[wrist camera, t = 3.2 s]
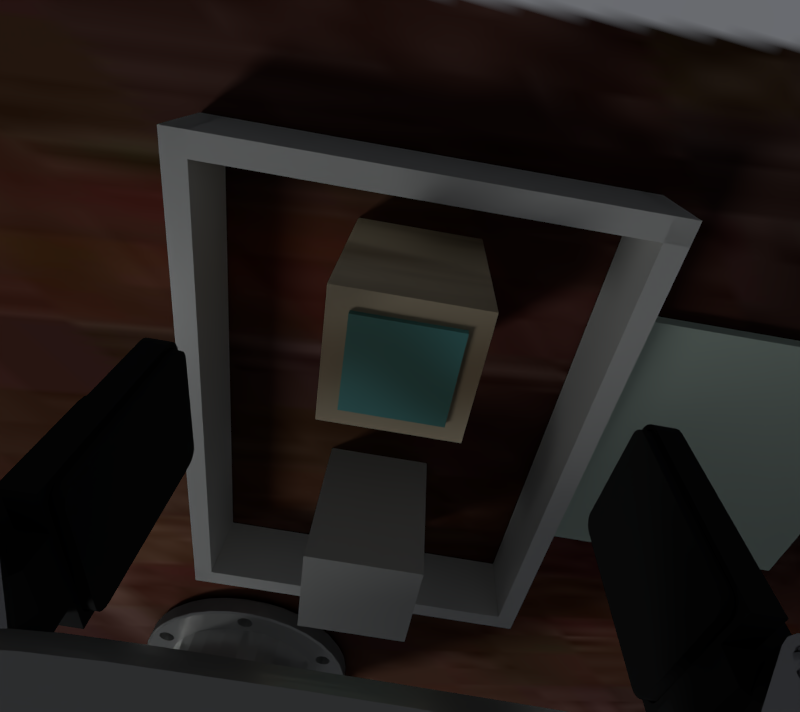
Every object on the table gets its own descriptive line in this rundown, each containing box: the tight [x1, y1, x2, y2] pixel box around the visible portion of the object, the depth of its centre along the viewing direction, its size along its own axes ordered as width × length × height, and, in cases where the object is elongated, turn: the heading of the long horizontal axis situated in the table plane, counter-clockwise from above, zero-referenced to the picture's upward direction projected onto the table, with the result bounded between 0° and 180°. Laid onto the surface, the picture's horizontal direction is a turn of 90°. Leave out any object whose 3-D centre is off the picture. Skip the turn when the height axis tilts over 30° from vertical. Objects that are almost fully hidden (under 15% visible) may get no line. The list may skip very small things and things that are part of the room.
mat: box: [554, 316, 800, 571], centre depth 22 cm, size 12×12×1 cm
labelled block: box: [315, 218, 499, 443], centre depth 17 cm, size 4×4×6 cm
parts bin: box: [157, 113, 702, 629], centre depth 21 cm, size 21×16×3 cm
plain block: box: [297, 448, 427, 642], centre depth 23 cm, size 4×4×6 cm
